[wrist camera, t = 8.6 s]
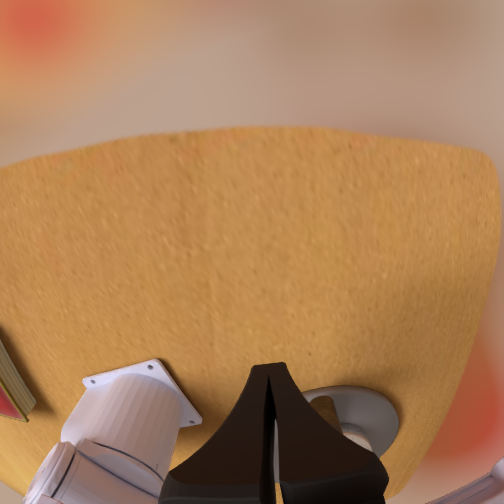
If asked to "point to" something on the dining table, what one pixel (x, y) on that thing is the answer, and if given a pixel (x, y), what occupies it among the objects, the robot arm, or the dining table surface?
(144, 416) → the robot arm
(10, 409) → the hardcover book
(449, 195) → the dining table surface
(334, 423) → the dial
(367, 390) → the dial base
